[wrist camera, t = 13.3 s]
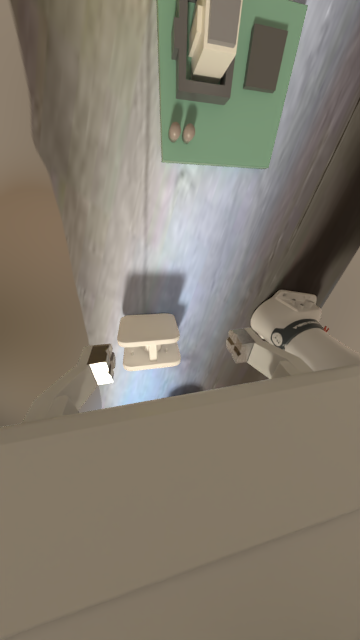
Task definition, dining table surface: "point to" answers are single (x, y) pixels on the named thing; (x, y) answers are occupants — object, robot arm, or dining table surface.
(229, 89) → the board
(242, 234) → the dining table surface
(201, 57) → the plug
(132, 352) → the cable organizer
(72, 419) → the robot arm
